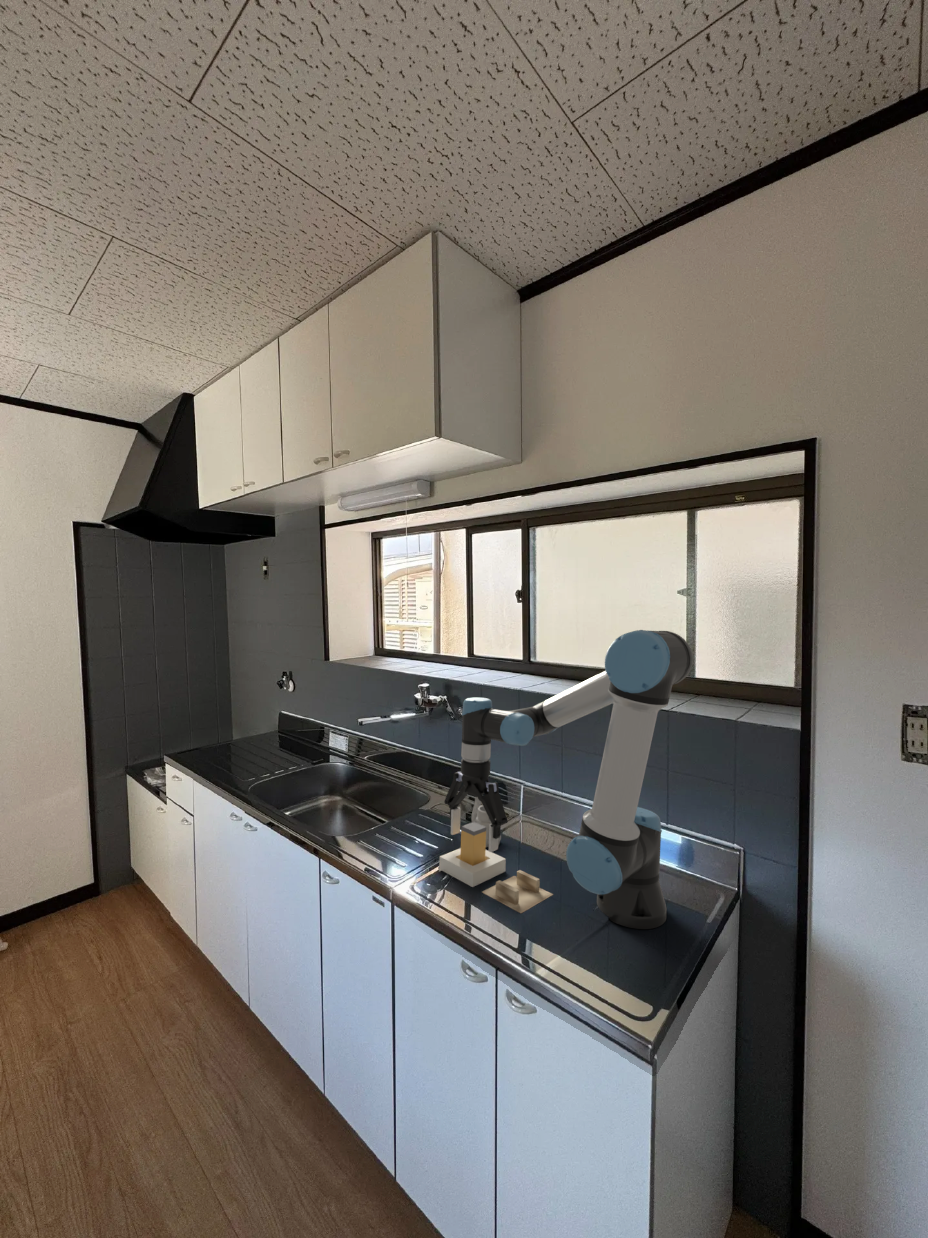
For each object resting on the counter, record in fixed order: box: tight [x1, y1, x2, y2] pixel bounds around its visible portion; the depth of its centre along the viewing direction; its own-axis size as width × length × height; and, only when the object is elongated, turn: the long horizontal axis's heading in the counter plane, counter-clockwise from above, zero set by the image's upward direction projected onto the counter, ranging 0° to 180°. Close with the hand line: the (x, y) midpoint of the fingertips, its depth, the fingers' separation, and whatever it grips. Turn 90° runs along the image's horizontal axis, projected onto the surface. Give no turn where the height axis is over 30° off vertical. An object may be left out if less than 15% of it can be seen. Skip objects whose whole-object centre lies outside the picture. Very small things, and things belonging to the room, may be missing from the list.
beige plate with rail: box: [481, 869, 554, 914], centre depth 125 cm, size 12×12×4 cm
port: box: [438, 847, 507, 888], centre depth 135 cm, size 12×12×4 cm
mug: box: [471, 797, 502, 849], centre depth 156 cm, size 8×12×12 cm, turn 34°
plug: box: [460, 821, 487, 866], centre depth 135 cm, size 4×4×12 cm
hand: (473, 841), depth 135 cm, fingers open, 13 cm apart
